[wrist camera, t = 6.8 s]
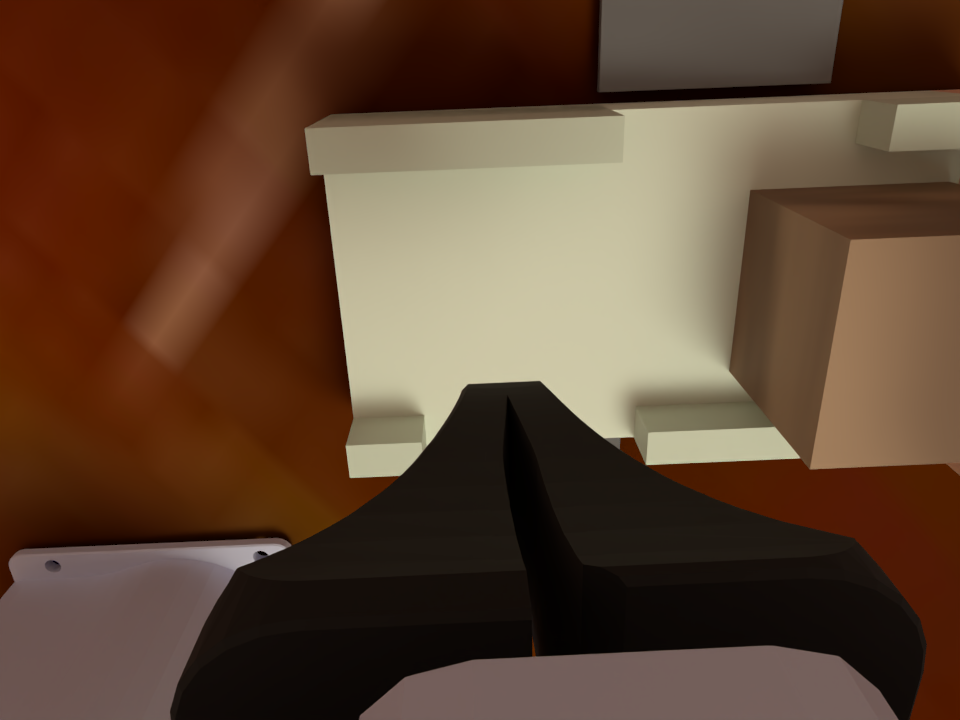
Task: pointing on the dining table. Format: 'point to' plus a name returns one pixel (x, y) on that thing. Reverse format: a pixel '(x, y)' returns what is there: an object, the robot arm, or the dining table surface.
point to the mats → (715, 45)
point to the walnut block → (854, 321)
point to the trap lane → (583, 254)
